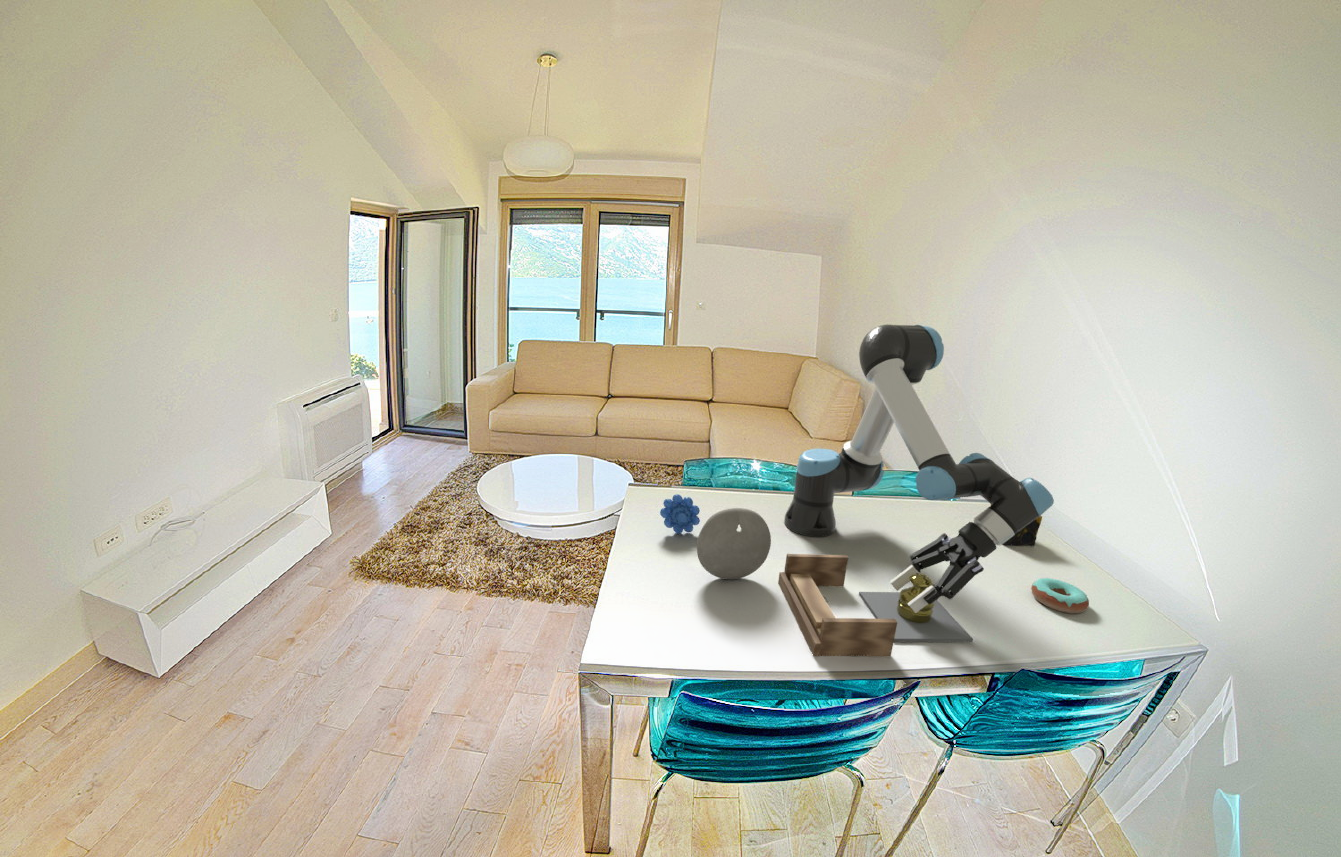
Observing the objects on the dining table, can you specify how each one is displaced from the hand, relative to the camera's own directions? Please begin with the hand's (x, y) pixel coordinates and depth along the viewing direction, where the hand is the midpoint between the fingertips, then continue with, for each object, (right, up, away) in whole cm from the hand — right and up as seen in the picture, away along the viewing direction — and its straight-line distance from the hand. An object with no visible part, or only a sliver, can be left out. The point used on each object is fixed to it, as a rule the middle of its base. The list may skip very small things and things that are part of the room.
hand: (902, 596), depth 129 cm
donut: (+43, -5, +12) cm, 45 cm away
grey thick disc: (-37, +1, +13) cm, 40 cm away
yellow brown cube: (+51, +4, +46) cm, 69 cm away
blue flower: (-50, +7, +34) cm, 61 cm away
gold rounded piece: (+3, -4, +1) cm, 6 cm away
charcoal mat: (+3, -5, +2) cm, 6 cm away
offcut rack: (-16, -4, 0) cm, 17 cm away
